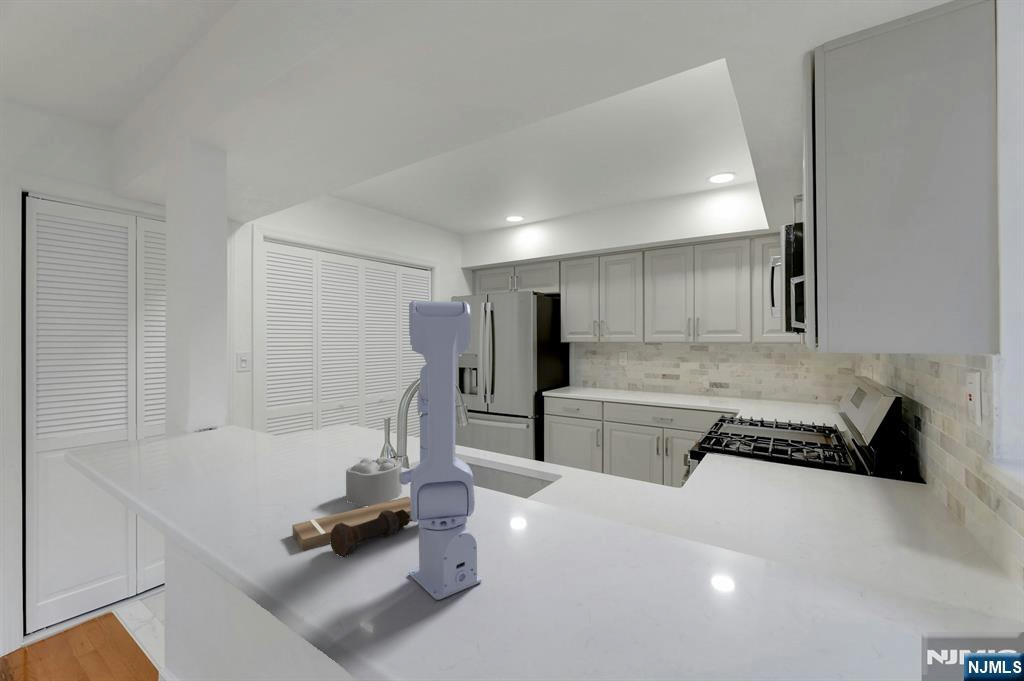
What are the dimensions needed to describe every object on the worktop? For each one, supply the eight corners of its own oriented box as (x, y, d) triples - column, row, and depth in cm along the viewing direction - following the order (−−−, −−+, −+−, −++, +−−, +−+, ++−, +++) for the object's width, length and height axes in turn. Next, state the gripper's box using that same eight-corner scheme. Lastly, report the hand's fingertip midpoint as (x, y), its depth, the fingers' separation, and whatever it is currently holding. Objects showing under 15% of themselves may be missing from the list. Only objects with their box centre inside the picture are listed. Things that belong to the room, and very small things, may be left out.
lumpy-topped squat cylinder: (340, 500, 103) (340, 463, 103) (384, 484, 114) (383, 451, 114) (369, 509, 98) (368, 470, 98) (412, 492, 109) (412, 457, 109)
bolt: (408, 536, 88) (339, 564, 76) (394, 518, 91) (326, 543, 79) (418, 514, 87) (350, 539, 75) (404, 497, 89) (336, 518, 77)
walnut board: (424, 516, 93) (424, 506, 93) (303, 550, 78) (302, 538, 78) (408, 505, 100) (407, 496, 100) (292, 535, 85) (292, 524, 85)
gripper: (454, 437, 99) (454, 497, 99) (392, 447, 90) (393, 514, 90) (471, 443, 93) (471, 507, 93) (407, 454, 84) (408, 525, 84)
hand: (434, 511), depth 91 cm, fingers closed
